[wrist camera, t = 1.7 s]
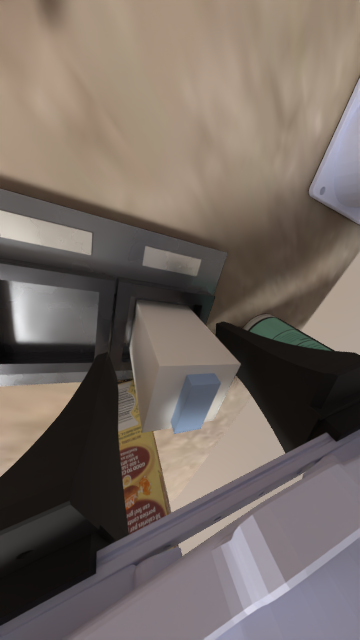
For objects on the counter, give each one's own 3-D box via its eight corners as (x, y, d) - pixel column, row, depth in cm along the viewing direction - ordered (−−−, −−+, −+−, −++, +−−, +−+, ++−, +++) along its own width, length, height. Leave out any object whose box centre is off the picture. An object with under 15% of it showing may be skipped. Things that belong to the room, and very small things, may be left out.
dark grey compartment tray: (222, 251, 14) (237, 255, 12) (182, 370, 19) (190, 385, 17) (-56, 172, 8) (-100, 160, 6) (-10, 378, 13) (-28, 402, 11)
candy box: (94, 388, 16) (35, 1027, 3) (141, 374, 17) (233, 816, 4) (117, 440, 20) (129, 799, 8) (153, 427, 22) (216, 722, 9)
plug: (187, 305, 14) (249, 373, 8) (175, 347, 16) (218, 430, 10) (136, 299, 13) (163, 377, 6) (129, 346, 14) (144, 446, 8)
